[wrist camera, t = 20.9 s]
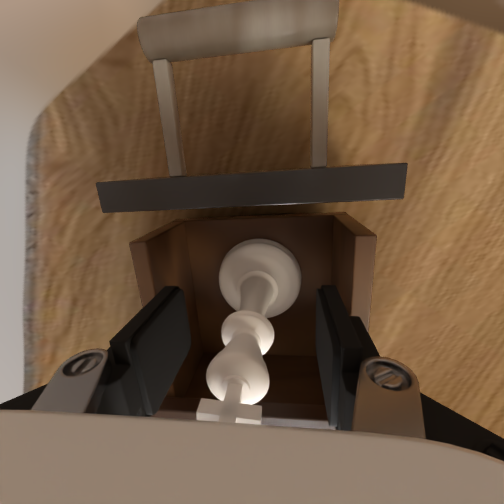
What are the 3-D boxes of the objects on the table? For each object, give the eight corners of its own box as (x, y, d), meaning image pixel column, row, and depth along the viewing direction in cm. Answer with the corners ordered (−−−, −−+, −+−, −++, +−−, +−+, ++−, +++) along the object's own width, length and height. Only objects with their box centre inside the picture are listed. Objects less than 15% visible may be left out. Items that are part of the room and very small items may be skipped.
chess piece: (297, 317, 16) (316, 529, 7) (220, 309, 17) (135, 497, 7) (305, 241, 15) (344, 377, 5) (219, 235, 15) (111, 350, 6)
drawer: (143, 66, 14) (51, -1, 8) (367, 38, 12) (434, -66, 7) (189, 350, 19) (152, 423, 14) (348, 355, 18) (376, 438, 12)
